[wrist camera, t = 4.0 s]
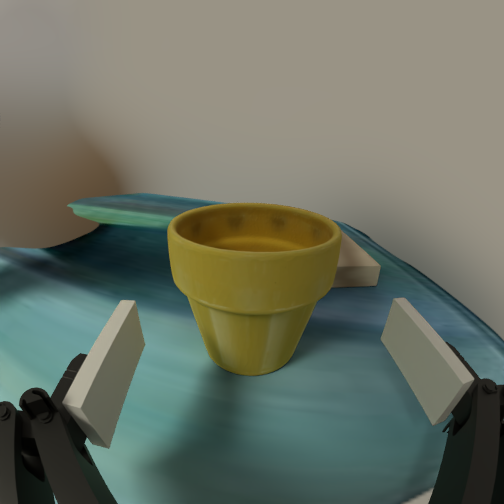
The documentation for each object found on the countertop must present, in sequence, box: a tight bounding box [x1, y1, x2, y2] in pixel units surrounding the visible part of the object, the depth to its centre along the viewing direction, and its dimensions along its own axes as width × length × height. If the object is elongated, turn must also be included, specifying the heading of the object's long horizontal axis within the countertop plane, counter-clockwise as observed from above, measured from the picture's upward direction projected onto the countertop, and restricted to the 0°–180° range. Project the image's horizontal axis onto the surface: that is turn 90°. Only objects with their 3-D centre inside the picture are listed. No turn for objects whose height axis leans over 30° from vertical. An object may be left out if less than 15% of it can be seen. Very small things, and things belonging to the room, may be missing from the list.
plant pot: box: [168, 203, 342, 376], centre depth 18 cm, size 10×10×10 cm
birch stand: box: [331, 231, 381, 288], centre depth 35 cm, size 20×14×2 cm
